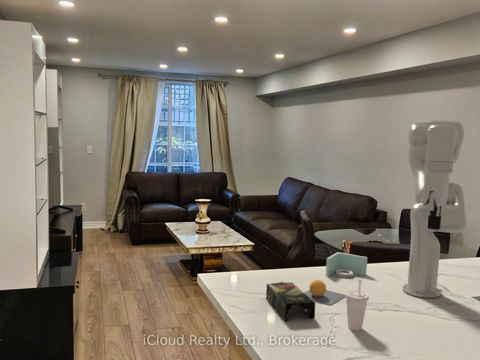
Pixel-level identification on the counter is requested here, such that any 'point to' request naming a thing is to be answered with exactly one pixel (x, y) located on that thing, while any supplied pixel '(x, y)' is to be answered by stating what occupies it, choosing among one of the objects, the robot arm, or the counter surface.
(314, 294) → the ball
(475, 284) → the counter surface
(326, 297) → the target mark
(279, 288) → the juice carton
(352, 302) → the smoothie
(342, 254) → the right angle wall
